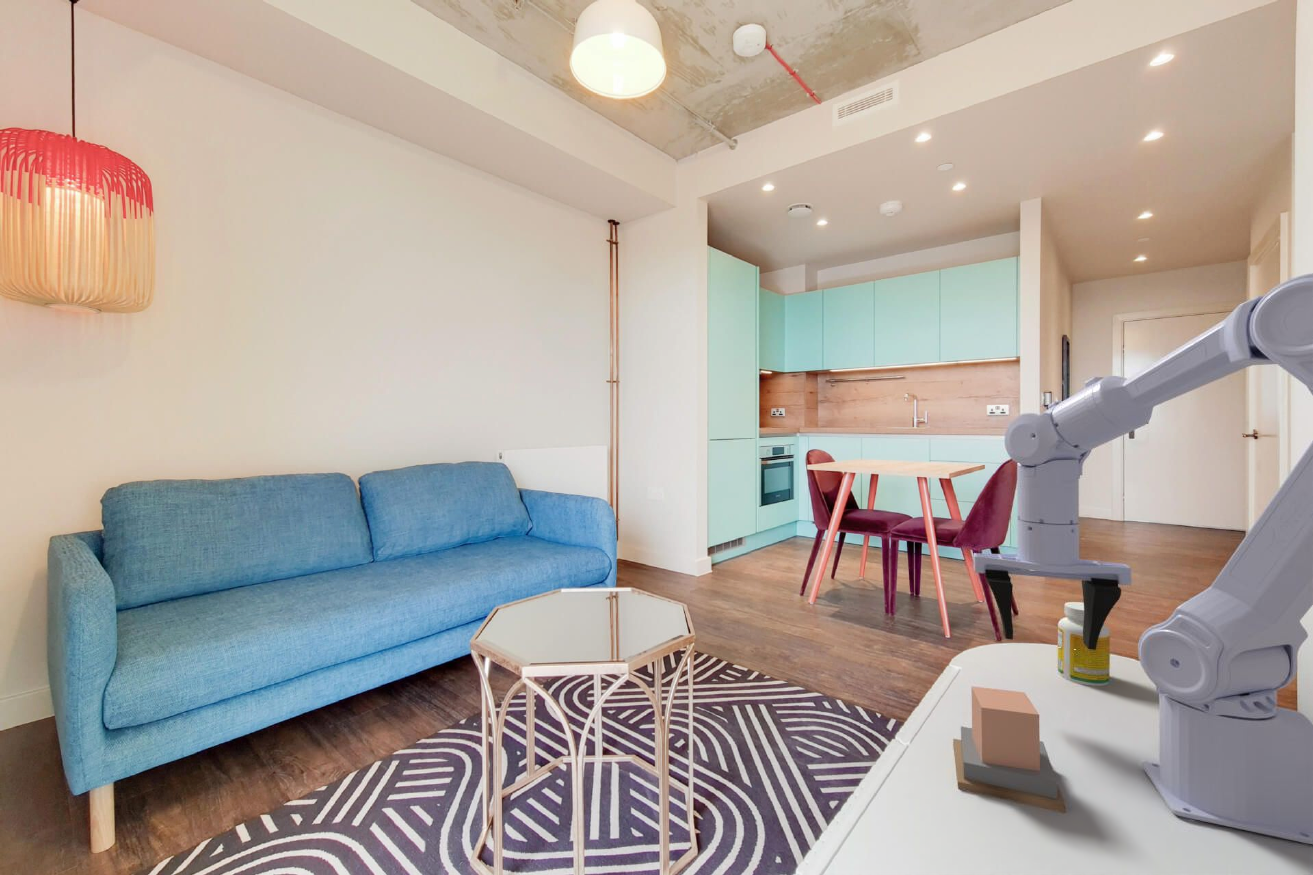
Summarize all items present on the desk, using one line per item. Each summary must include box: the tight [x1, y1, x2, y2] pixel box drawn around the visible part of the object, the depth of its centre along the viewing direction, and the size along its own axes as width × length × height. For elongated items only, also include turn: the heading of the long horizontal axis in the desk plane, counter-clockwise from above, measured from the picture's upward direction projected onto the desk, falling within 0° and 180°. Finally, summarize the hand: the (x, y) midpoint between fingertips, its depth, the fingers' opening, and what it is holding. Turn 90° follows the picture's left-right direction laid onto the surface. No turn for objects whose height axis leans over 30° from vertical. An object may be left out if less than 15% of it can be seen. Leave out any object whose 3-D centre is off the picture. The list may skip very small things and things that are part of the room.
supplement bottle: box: [1057, 601, 1111, 687], centre depth 73 cm, size 5×5×10 cm
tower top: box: [960, 726, 1058, 799], centre depth 53 cm, size 7×7×2 cm
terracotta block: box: [971, 686, 1041, 771], centre depth 53 cm, size 4×4×5 cm
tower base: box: [952, 738, 1067, 814], centre depth 53 cm, size 8×8×2 cm
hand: (1047, 641), depth 64 cm, fingers open, 7 cm apart
